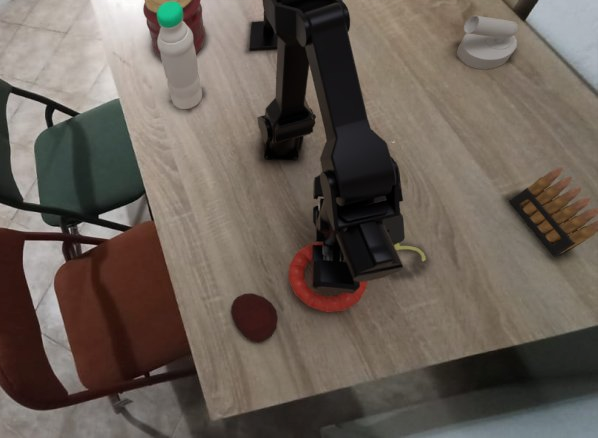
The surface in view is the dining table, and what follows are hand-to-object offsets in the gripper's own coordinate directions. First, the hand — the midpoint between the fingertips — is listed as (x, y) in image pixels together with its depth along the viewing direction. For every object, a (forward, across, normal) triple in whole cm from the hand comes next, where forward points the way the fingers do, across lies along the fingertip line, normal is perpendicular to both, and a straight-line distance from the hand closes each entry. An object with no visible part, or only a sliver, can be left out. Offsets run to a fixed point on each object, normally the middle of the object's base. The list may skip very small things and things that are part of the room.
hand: (327, 249), depth 75 cm
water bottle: (+5, +36, +29) cm, 47 cm away
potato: (+5, -13, +11) cm, 17 cm away
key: (+5, +4, -11) cm, 12 cm away
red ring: (0, -5, 0) cm, 5 cm away
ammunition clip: (+5, +8, -32) cm, 33 cm away
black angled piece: (+4, +53, +12) cm, 55 cm away
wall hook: (+5, +45, -28) cm, 53 cm away
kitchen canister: (+5, +53, +33) cm, 63 cm away
